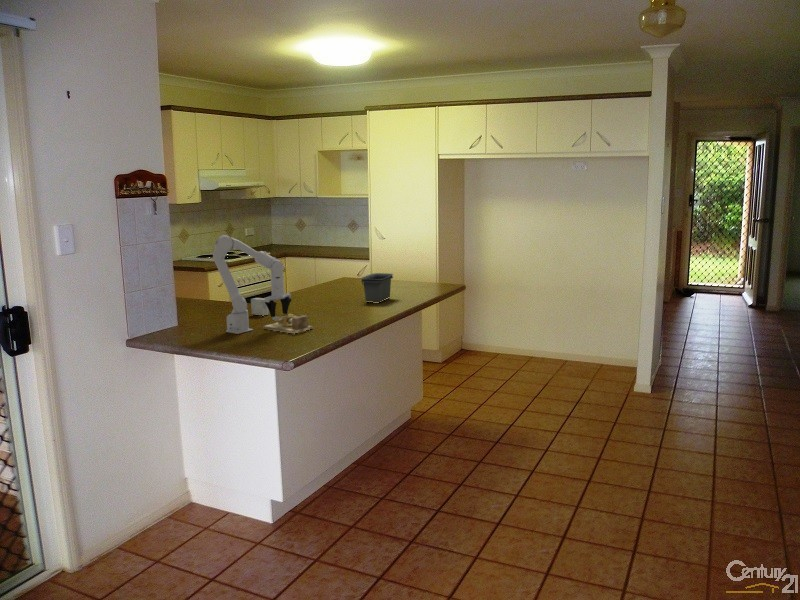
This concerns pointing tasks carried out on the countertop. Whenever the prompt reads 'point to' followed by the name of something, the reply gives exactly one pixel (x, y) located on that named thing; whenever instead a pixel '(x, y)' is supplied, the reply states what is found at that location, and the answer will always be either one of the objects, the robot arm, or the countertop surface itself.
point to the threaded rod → (281, 318)
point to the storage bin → (377, 286)
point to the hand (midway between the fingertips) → (279, 315)
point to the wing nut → (285, 320)
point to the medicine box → (259, 306)
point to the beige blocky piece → (297, 325)
